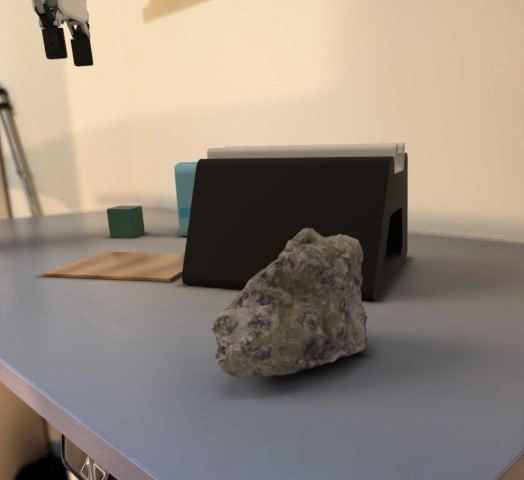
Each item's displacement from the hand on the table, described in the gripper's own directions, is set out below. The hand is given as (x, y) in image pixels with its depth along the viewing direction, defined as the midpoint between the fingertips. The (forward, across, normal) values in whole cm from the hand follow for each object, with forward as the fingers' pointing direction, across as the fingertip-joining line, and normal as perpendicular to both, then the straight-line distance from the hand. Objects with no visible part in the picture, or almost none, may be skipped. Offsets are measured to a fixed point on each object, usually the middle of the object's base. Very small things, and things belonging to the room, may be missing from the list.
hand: (71, 62), depth 86 cm
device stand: (+28, +25, +38) cm, 53 cm away
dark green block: (+28, -3, +4) cm, 28 cm away
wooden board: (+28, +22, +14) cm, 38 cm away
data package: (+28, -6, +16) cm, 33 cm away
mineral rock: (+28, +54, +38) cm, 72 cm away
